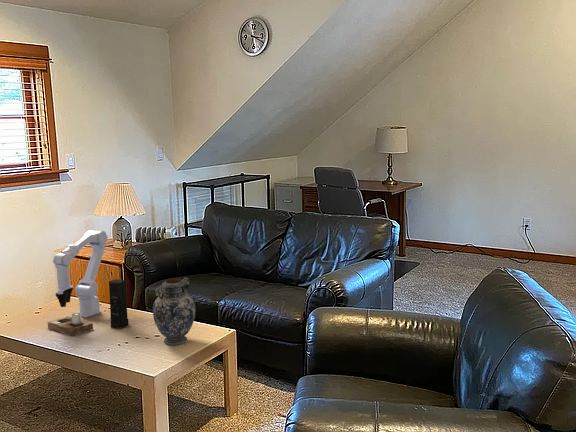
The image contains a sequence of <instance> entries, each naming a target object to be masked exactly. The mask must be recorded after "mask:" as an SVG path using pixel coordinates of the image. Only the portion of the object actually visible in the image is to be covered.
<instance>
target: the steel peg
mask: <svg viewBox="0 0 576 432" xmlns="http://www.w3.org/2000/svg"><path fill="white" fill-rule="evenodd" d="M71 317H72V326H73V327H77V326H80V325H81V320H82V316H81V313H80V312H75V313H71Z"/></svg>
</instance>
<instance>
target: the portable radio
mask: <svg viewBox="0 0 576 432" xmlns="http://www.w3.org/2000/svg"><path fill="white" fill-rule="evenodd" d="M127 285H128V284H127V280H126V279H124V276H122V279H116V278H115V279H112V280H109V281H108V289H109V291H108V292H109V309H110V311H109V312H110V327H111V328H116V329H122V330H123V329H124V328H126V327H128V326H129V317H128V316H129V315H128V301H127V299H128V298H127Z"/></svg>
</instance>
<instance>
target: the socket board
mask: <svg viewBox="0 0 576 432" xmlns="http://www.w3.org/2000/svg"><path fill="white" fill-rule="evenodd" d="M47 329H50V330H53V331H56V332H59V333H62V334H65V335H69V336H72V337H74V336H77V335H80V334H82V333H83V334H84V333H87V332H88V331H92V330H93V329H94V324H93V322H90V321H86V320H84V319H81V325H80V326H77V327H73V326H72V316H71V315H70V316H69V315H67V316H63V317H61V318H56V319H53V320H50V321H47Z"/></svg>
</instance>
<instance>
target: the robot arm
mask: <svg viewBox="0 0 576 432" xmlns="http://www.w3.org/2000/svg"><path fill="white" fill-rule="evenodd" d="M107 241H108V235H107V233H106V231H105V230H93V229H88V230H87V231H86V232H84V234H83V236H82V237H81V238H80V239H79V240H78V241H77V242H76V243H75V244H72V243H71V244H68V246H67V247H66V248H65V249H63V250H62V251H61V252H59V253H56V254H55V255H54V256H53V259H52V263H53V264H54V267H55V270H56V278H57V279H56V280H57V292H56V293H55V296H56V299H57V300H58V302H59V306H60V308H66V306H67V303H70V302H71V296H72V292H73V290H74V293H75V295H76V297H77V298H78V305H79V313H81V318H82V317H83V318H87V317H91V316H94V315H97V314H101V313H102V312H101V307H100V306H101V305H100V299H99V297H98V295H97V293H98V283H97V282H96V277H97V274H98V271H99V268H100V265H101V262H102V259H103V255H104V252H105V248H106V245H107ZM87 245H89V246H90V247H91V248H92V252H91V256H90V257H89V258H90V259H89V261H88V265H87V268H86V270H85V273H84V277H83V278H82V279H80V280H79V281H78V283H77V285H76V286H75V289H74V285H71V277H70V264H71V263H72V261H73V259H74V258H75V257H76V256H78V254H80V250H82V249H83V248H84V247H86V246H87Z"/></svg>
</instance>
